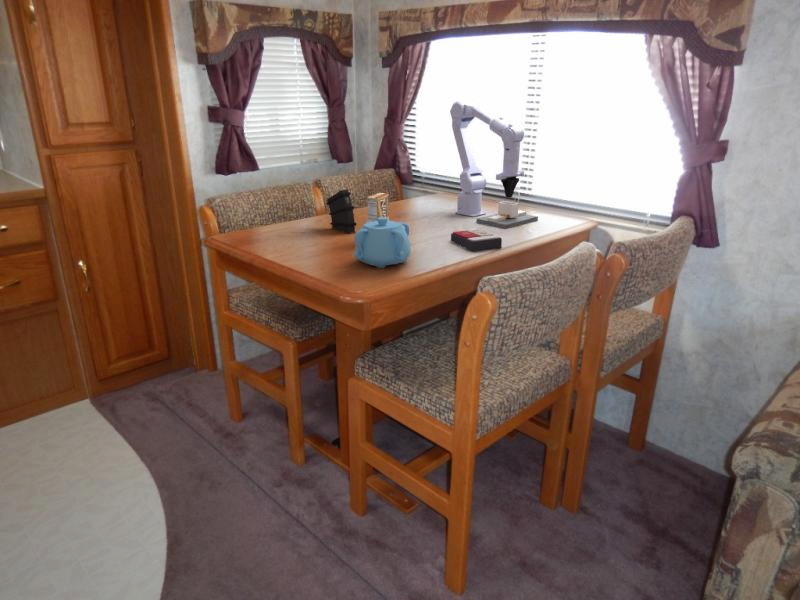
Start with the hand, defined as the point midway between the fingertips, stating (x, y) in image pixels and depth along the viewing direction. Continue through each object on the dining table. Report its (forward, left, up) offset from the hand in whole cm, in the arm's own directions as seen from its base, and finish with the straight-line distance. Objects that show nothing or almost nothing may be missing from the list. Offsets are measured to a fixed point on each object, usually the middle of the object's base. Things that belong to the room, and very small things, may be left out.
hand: (508, 197), depth 216 cm
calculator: (+13, -34, -10) cm, 38 cm away
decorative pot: (+8, -70, -10) cm, 71 cm away
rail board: (0, 0, -9) cm, 9 cm away
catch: (0, 0, -7) cm, 7 cm away
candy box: (-13, -54, -10) cm, 56 cm away
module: (0, 0, -7) cm, 7 cm away
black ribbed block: (-33, -55, -10) cm, 65 cm away
